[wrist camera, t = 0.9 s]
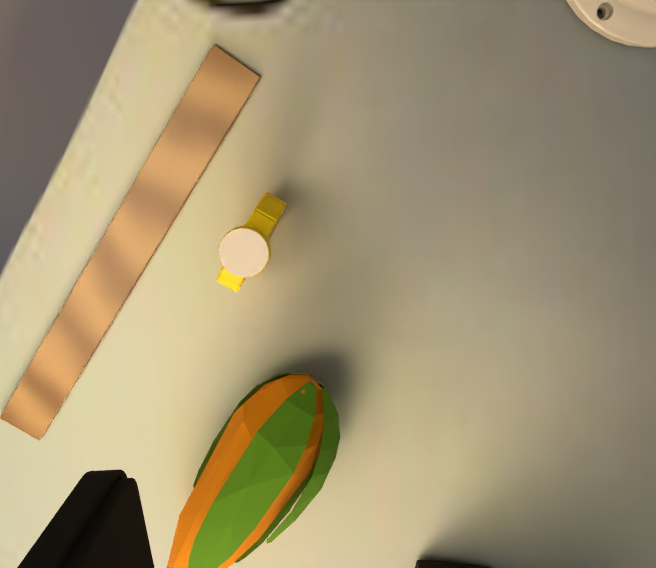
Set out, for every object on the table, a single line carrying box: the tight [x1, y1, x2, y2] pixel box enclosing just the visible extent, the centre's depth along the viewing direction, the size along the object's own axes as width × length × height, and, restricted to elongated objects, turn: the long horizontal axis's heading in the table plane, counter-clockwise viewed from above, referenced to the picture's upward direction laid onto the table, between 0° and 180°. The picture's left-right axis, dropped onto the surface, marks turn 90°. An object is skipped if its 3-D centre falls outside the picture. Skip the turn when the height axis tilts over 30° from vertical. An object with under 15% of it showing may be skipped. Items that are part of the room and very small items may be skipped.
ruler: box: [0, 44, 260, 440], centre depth 37 cm, size 30×3×1 cm, turn 146°
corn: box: [167, 373, 340, 568], centre depth 38 cm, size 7×8×20 cm
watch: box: [217, 193, 286, 292], centre depth 33 cm, size 6×3×6 cm, turn 150°
